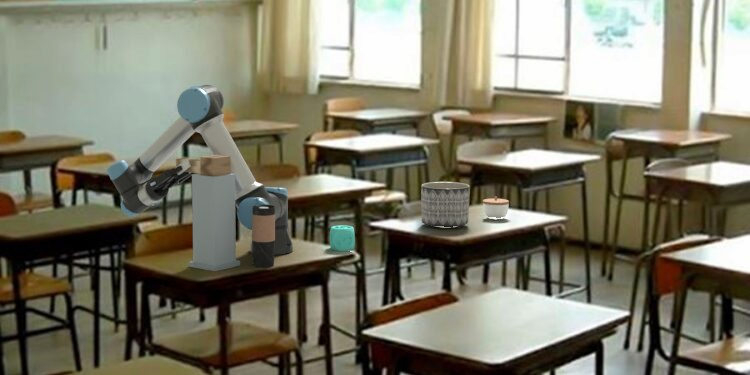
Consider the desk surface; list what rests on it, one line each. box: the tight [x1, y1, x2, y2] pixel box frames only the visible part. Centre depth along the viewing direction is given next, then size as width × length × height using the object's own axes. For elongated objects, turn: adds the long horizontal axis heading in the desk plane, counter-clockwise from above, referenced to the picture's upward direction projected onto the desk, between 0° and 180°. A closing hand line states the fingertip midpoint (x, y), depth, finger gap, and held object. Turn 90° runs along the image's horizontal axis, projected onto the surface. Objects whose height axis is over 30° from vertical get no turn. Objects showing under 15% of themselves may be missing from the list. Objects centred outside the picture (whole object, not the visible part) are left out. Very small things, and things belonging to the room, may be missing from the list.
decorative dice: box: [329, 224, 356, 252], centre depth 442 cm, size 8×8×8 cm
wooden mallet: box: [175, 154, 231, 177], centre depth 410 cm, size 20×8×6 cm, turn 53°
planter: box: [420, 181, 471, 227], centre depth 488 cm, size 19×19×16 cm
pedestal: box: [188, 173, 241, 272], centre depth 409 cm, size 12×12×31 cm
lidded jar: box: [482, 195, 510, 218], centre depth 506 cm, size 11×11×9 cm
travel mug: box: [251, 205, 275, 268], centre depth 412 cm, size 8×8×20 cm
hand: (194, 162), depth 412 cm, fingers open, 4 cm apart
